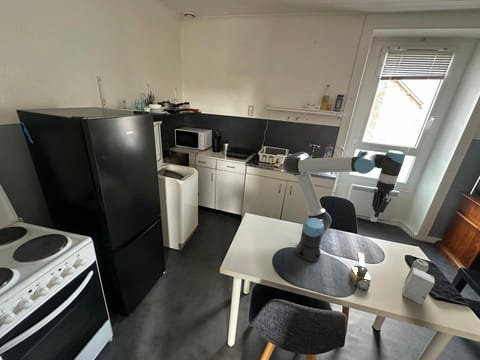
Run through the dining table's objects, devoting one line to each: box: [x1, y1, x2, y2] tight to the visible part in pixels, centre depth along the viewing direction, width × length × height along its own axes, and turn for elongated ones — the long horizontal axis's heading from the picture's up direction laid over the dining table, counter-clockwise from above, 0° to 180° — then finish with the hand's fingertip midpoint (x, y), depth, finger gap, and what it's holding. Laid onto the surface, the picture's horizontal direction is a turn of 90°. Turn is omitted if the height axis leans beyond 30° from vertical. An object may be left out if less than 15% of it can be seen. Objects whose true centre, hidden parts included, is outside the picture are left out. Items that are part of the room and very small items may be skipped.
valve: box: [349, 265, 372, 292], centre depth 110 cm, size 13×7×6 cm, turn 171°
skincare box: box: [401, 268, 435, 306], centre depth 101 cm, size 8×6×15 cm
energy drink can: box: [405, 258, 429, 282], centre depth 109 cm, size 6×6×15 cm
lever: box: [357, 252, 368, 275], centre depth 113 cm, size 16×4×2 cm, turn 155°
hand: (373, 220), depth 112 cm, fingers closed
